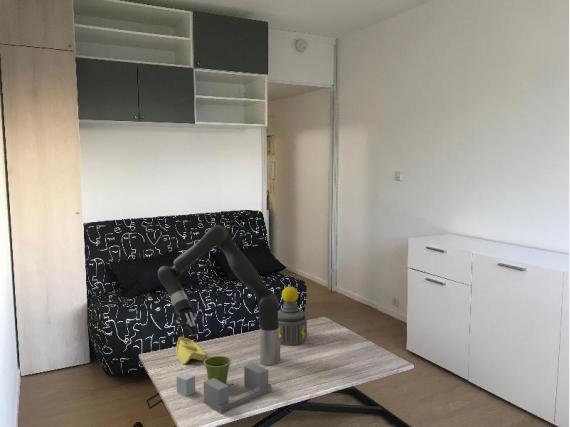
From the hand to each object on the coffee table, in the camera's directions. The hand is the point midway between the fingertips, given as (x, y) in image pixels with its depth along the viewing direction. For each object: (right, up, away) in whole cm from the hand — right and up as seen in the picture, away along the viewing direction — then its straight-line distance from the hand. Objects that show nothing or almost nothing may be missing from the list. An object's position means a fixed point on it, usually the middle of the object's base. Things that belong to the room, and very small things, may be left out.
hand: (195, 334), depth 216 cm
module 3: (+29, -20, -13) cm, 37 cm away
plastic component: (-7, -17, +22) cm, 29 cm away
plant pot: (+12, -20, -10) cm, 25 cm away
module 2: (+14, -21, -27) cm, 37 cm away
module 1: (-1, -20, -15) cm, 26 cm away
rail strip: (+25, -21, -24) cm, 41 cm away
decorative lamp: (+44, -14, +44) cm, 64 cm away
